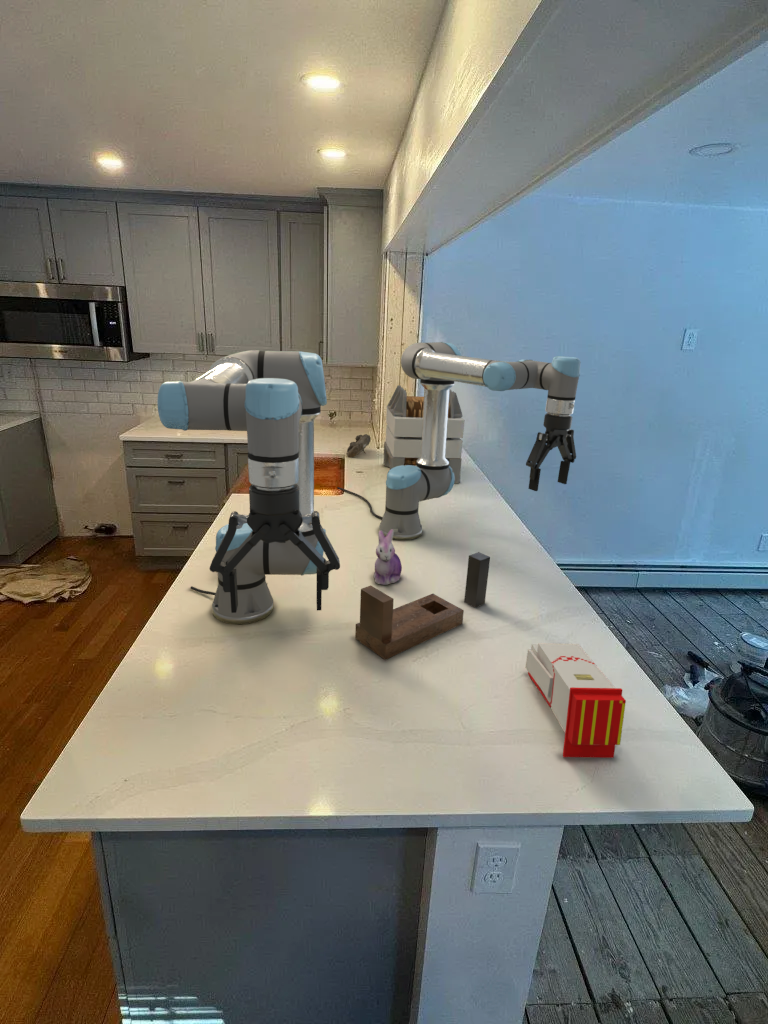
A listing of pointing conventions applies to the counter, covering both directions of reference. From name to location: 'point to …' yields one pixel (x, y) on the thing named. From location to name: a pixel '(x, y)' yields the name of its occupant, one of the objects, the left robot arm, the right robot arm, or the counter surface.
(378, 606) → the peg board
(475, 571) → the peg
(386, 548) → the figurine
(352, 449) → the fossil
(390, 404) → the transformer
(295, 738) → the counter surface
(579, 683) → the toy
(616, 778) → the counter surface
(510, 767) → the counter surface
